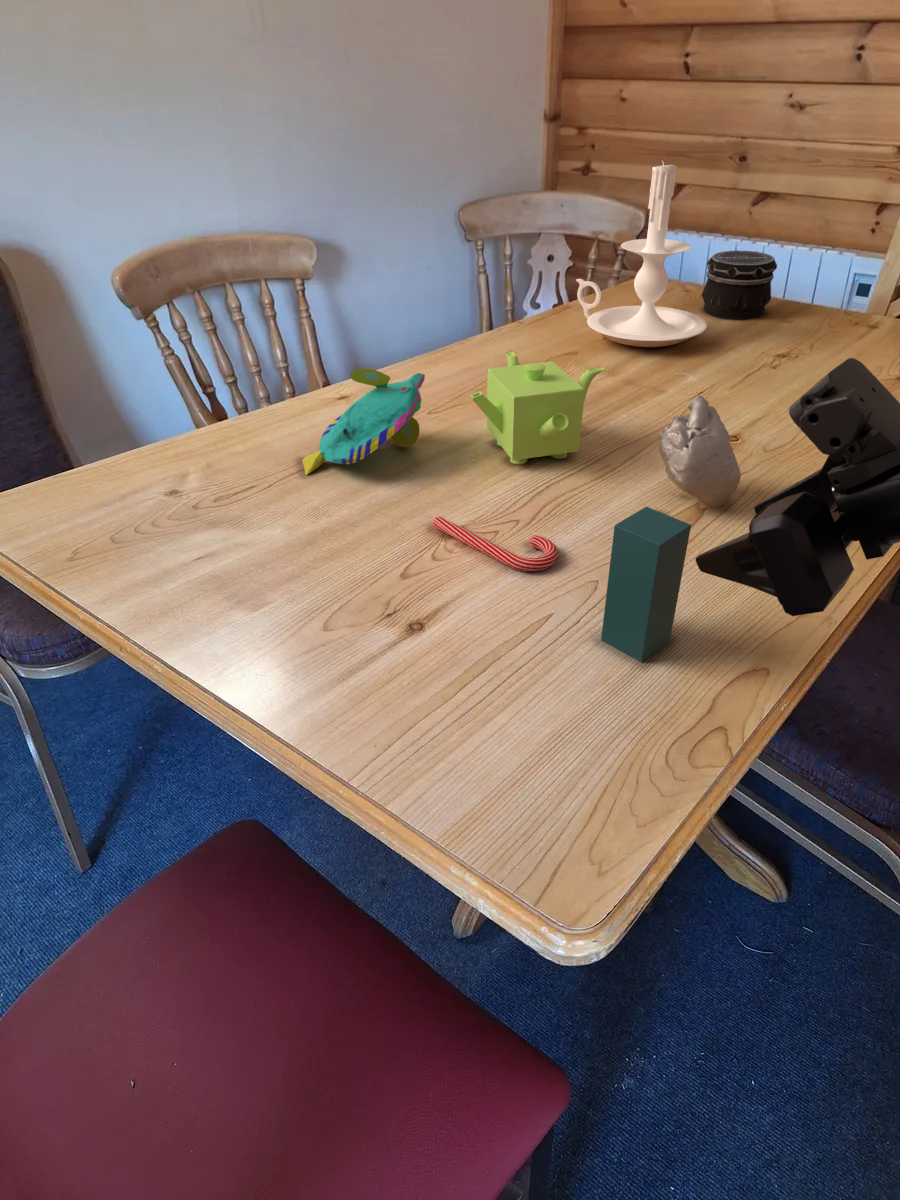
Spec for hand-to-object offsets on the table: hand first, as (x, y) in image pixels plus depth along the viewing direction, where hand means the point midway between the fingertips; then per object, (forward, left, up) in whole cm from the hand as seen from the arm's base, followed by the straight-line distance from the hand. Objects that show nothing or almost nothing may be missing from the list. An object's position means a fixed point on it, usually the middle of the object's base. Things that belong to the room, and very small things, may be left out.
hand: (729, 537), depth 56 cm
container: (+13, -113, -15) cm, 114 cm away
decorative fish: (+47, -29, -15) cm, 57 cm away
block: (+6, -5, -15) cm, 17 cm away
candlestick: (+27, -90, -15) cm, 95 cm away
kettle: (+28, -40, -15) cm, 51 cm away
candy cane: (+24, -15, -15) cm, 32 cm away
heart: (+6, -33, -15) cm, 37 cm away
